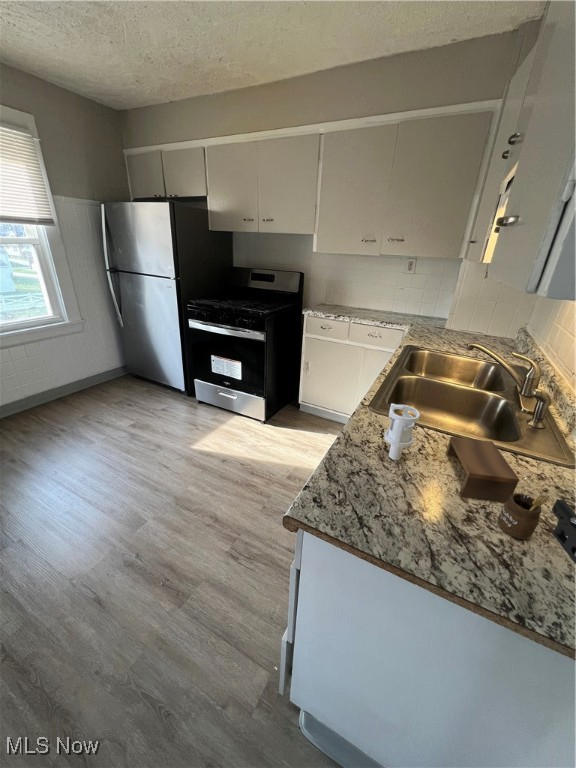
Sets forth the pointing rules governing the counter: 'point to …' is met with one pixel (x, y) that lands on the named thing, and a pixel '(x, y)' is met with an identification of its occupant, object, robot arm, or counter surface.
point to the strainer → (400, 430)
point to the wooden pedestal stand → (483, 470)
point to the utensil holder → (521, 514)
